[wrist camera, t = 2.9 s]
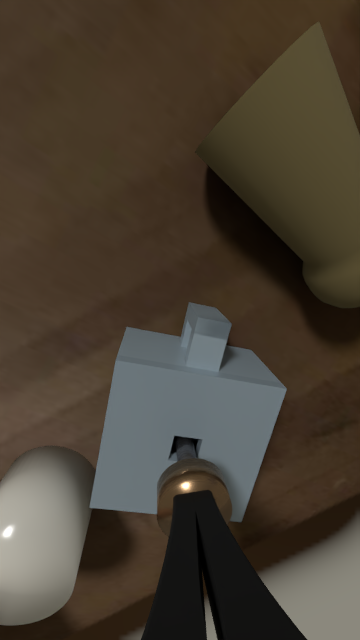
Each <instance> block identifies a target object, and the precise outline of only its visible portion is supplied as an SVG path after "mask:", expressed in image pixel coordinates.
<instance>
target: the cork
mask: <svg viewBox="0 0 360 640" xmlns="http://www.w3.org/2000/svg"><path fill="white" fill-rule="evenodd" d="M195 153H196V154H197V155H198V156H199V157H200V158H201V159H202V160H203V161H204V162H205V163H206V164H207V165H208V166H209V167H210V168H211V169H212V170H213V171H214V172H215V173H216V174H217V175H218V176H219V177H220V178H221V179H222V180H223V181H224V182H225V183H226V184H227V185H228V186H229V187H230V188H231V189H232V190H233V191H234V192H235V193H236V194H237V195H238V196H239V197H240V198H241V199H242V200H243V201H244V202H245V203H246V204H247V205H248V206H249V207H250V208H251V209H252V210H253V211H254V212H255V213H256V214H257V215H258V216H259V217H260V218H261V219H262V220H263V221H264V222H265V223H266V224H267V225H268V226H269V227H270V228H271V229H272V230H273V231H274V232H275V233H276V234H277V235H278V236H279V237H280V238H281V239H282V240H283V241H284V242H285V243H286V244H287V245H288V246H289V247H290V248H291V249H292V250H293V251H294V252H295V253H296V254H297V255H298V256H299V257H300V258H301V259H302V260H303V272H302V274H303V277H304V280H305V283H306V284H307V286H308V287H309V289H310V290H311V291H312V293H313V294H314V295H315V296H316V297H317V298H318V299H320V300H321V301H322V302H324V303H327V304H330V305H332V306H336V307H339V308H356V307H360V135H359V132H358V130H357V127H356V124H355V121H354V118H353V115H352V113H351V110H350V107H349V104H348V101H347V99H346V96H345V93H344V90H343V87H342V85H341V82H340V79H339V76H338V73H337V71H336V68H335V65H334V62H333V59H332V57H331V54H330V51H329V48H328V45H327V43H326V40H325V37H324V34H323V31H322V28H321V26H320V23H319V22H317V23H316V24H315V25H313V26H312V27H310V28H309V29H308V30H307V31H306V32H305V33H304V34H303V35H302V36H301V37H300V38H299V39H297V40H296V41H295V42H294V43H293V44H292V45H291V46H290V47H289V48H288V49H287V50H286V51H285V52H284V53H283V54H282V55H281V56H280V57H279V58H278V59H277V60H276V61H275V62H274V63H273V64H272V65H271V66H270V67H269V68H268V69H267V70H266V71H265V72H264V74H263V75H262V76H261V77H260V78H259V79H258V80H257V81H256V82H255V83H254V84H253V85H252V86H251V87H250V88H249V89H248V90H247V91H246V92H245V94H244V95H243V96H242V97H241V98H240V99H239V100H238V101H237V102H236V103H235V104H234V106H233V107H232V108H231V109H230V110H229V111H228V112H227V113H226V114H225V115H224V117H223V118H222V119H221V120H220V121H219V122H218V124H217V125H216V126H215V127H214V128H213V129H212V130H211V132H210V133H209V134H208V135H207V136H206V138H205V139H204V140H203V141H202V143H201V144H200V145H199V147H198V148H197V150H196V151H195Z"/></svg>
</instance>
